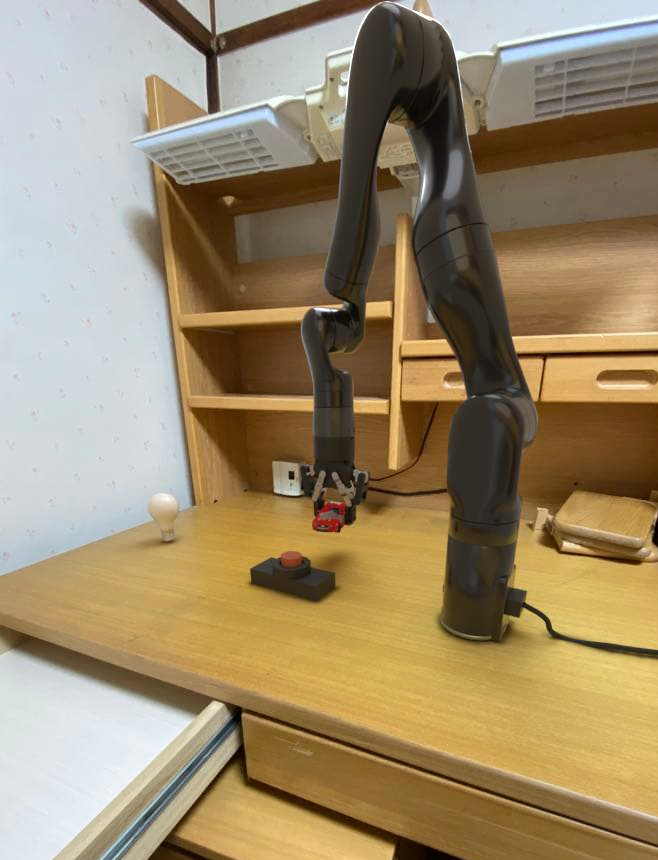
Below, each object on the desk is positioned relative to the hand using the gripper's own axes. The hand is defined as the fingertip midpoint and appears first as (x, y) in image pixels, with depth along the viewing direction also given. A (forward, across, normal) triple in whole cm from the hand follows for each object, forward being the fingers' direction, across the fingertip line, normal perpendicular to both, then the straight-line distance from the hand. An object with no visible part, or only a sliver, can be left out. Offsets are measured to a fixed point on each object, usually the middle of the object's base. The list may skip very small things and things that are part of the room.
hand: (334, 521), depth 88 cm
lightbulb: (+9, -38, -9) cm, 40 cm away
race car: (+1, 0, 0) cm, 1 cm away
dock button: (+4, -1, -13) cm, 14 cm away
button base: (+8, -1, -13) cm, 15 cm away
